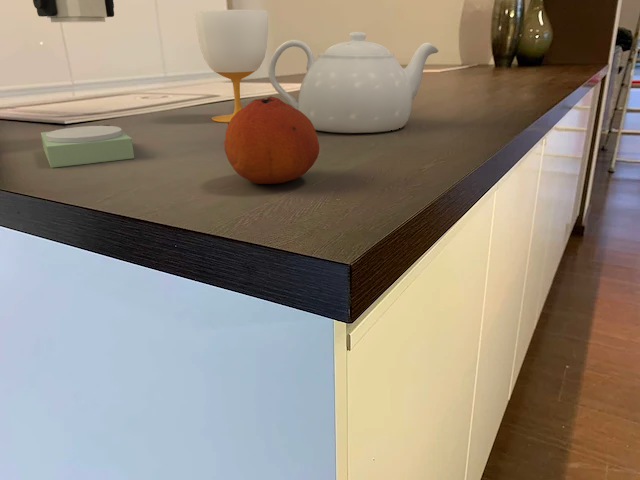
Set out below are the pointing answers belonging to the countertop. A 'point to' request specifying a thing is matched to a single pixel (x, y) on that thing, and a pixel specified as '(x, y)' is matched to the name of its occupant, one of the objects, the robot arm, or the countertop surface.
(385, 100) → the teapot
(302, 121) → the fruit
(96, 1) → the bowl
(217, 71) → the cup
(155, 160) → the countertop surface
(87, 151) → the scale
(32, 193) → the countertop surface
